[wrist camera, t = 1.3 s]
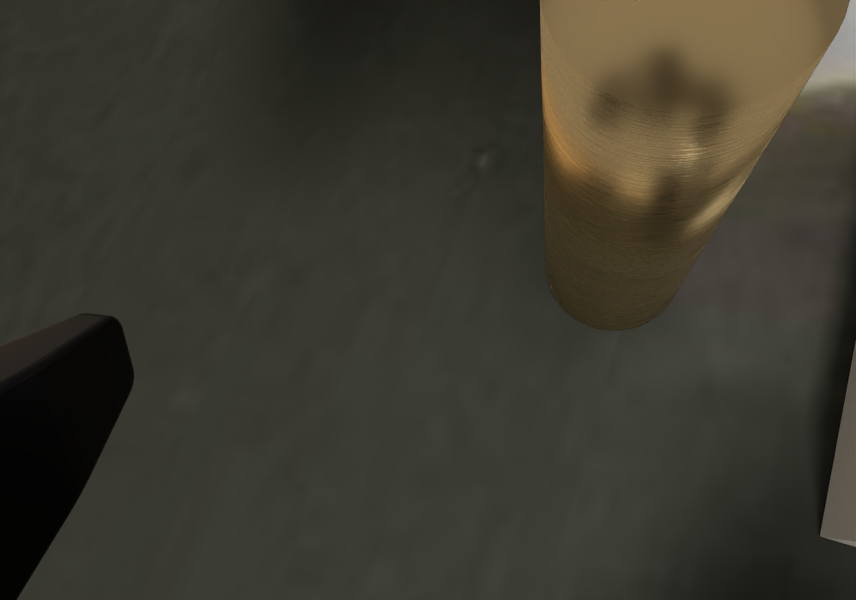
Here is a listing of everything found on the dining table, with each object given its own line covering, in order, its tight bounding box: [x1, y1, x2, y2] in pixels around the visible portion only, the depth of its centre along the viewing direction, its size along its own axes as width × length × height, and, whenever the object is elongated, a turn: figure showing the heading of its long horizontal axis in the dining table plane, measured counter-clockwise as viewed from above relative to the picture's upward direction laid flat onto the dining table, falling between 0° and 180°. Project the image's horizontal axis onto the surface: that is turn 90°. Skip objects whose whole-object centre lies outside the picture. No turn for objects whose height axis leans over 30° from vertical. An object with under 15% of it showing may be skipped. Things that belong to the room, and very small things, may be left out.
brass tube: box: [540, 0, 850, 331], centre depth 16 cm, size 4×4×13 cm
